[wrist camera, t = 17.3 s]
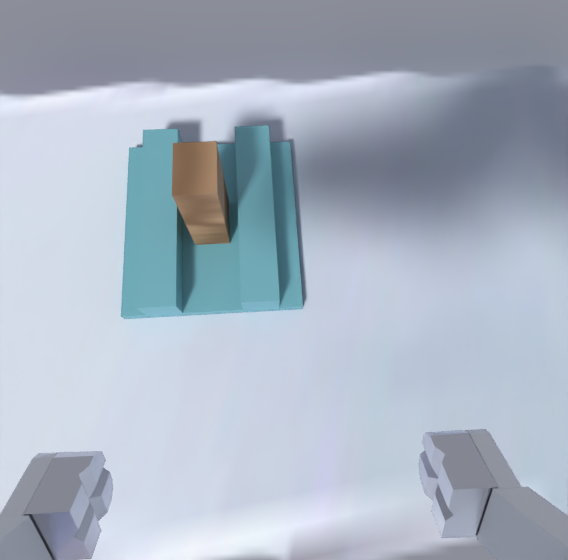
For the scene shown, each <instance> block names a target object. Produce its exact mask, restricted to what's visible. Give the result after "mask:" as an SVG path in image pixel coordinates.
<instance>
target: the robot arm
mask: <svg viewBox="0 0 568 560" xmlns="http://www.w3.org/2000/svg"><path fill="white" fill-rule="evenodd" d="M422 444H423V446H424V449H425V451H424V452H422V453H421V454H420V458H419V474H420V479H421V483H422V486H423V489H424V492H425V494H426V495H427V496H428V497H429V498H431V499H432V500H433V505H432V510H431V512H432V514H433V517H434V520H435V522H436V525H437V528H438V531H439V533H440V536H441V538H459V537H477V540H478V541H479V542H480V543H481V544H482V545H483V546H484V547H485V548H486V549H487V550H488V551H489V552H490V553H491V554H492V555H493V556H494V558H495V559H496V560H568V515H566V514H565V513H564V512H562V511H561V510H559V509H558V508H557V507H555V506H554V505H552V504H551V503H550V502H548V501H547V500H546V499H544V498H543V497H541V496H540V495H539V494H537V493H536V492H534V491H533V490H532V489H530V488H529V487H521V485H520V483H519V481H518V480H517V478H516V476H515V475H514V473H513V471H512V470H511V468H510V466H509V465H508V463H507V461H506V460H505V458H504V456H503V455H502V453H501V451H500V450H499V448H498V446H497V445H496V443H495V441H494V439H493V438H492V436H491V434H490V433H489V432H488V431H487V430H486V429H479V430H465V431H464V430H455V431H441V432H426V433H425V434H424V436H423V441H422ZM105 461H106V460H105V457H104V455H103V453H102V451H93V452H59V453H38V454H37V455H36V456H35V457H34V458H33V459H32V460H31V462H30V464H29V465H28V467H27V469H26V471H25V472H24V474H23V476H22V478H21V479H20V481H19V483H18V484H17V486H16V488H15V490H14V491H13V493H12V495H11V497H10V498H9V500H8V502H7V503H6V505H5V507H4V509H3V510H2V512H1V514H0V560H83V559H91V558H92V555H93V553H94V550H95V547H96V544H97V541H98V538H99V535H100V532H101V528H100V525H99V523H98V521H99V520H100V519H101V518H102V517H103V516H104V515H105V514H106V513H107V512H108V509H109V506H110V503H111V499H112V491H113V483H112V477H111V474H110V472H109V471H107V470H106V469H105V468H103V466H104V463H105Z"/></svg>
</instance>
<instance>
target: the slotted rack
mask: <svg viewBox="0 0 568 560" xmlns="http://www.w3.org/2000/svg"><path fill="white" fill-rule="evenodd" d="M173 143H182V140H181V137H180V134H179V131H178V129H155V130H143V147H134V148H129V163H128V183H127V204H126V225H125V245H124V266H123V287H122V307H121V317H123V318H124V319H132V318H150V317H168V316H186V315H204V314H221V313H239V312H257V311H275V310H292V309H302V308H303V300H302V287H301V274H300V262H299V249H298V236H297V224H296V211H295V198H294V185H293V173H292V160H291V147H290V142H270V137H269V125H266V126H238V127H235V144H217V146H218V151H219V156H220V161H221V165H222V170H223V175H224V180H225V185H226V189H227V194H228V199H229V218H230V243H227V244H205V245H195V243H194V241H193V239H192V237H191V234H190V232H189V230H188V228H187V226H186V224H185V222H184V220H183V218H182V215H181V213H180V211H179V209H178V207H177V205H176V203H175V201H174V198H173V196H172V161H173Z"/></svg>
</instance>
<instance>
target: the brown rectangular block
mask: <svg viewBox="0 0 568 560" xmlns="http://www.w3.org/2000/svg"><path fill="white" fill-rule="evenodd" d="M172 196H173V198H174V201H175V203H176V205H177V207H178V209H179V211H180V213H181V215H182V218H183V220H184V222H185V224H186V226H187V228H188V230H189V232H190V234H191V237H192V239H193V241H194V243H195V245H205V244H227V243H230V218H229V199H228V194H227V189H226V185H225V180H224V175H223V170H222V165H221V161H220V156H219V151H218V146H217V141H213V142H183V143H173V161H172Z"/></svg>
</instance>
